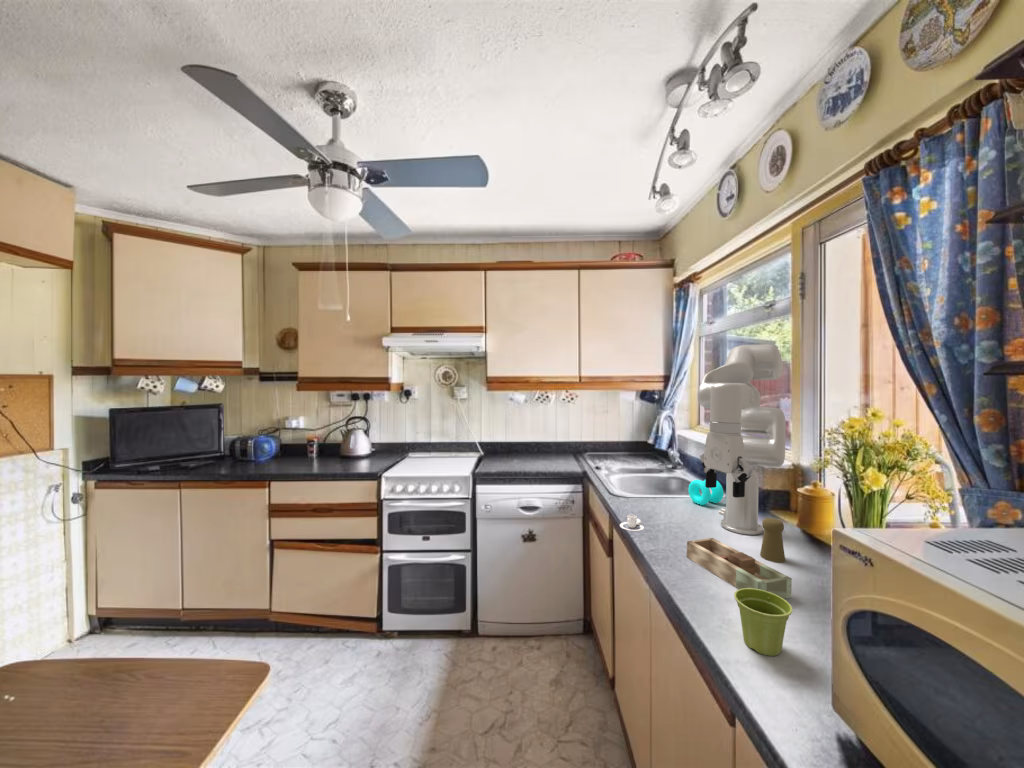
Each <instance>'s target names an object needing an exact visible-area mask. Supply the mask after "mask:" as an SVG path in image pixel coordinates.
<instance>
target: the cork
mask: <svg viewBox="0 0 1024 768" xmlns="http://www.w3.org/2000/svg"><path fill="white" fill-rule="evenodd" d="M761 524H762V525H761V526H762V527H763V536H762V543H761V547H760V553H759V555H760V557H761V558H762V559H764V560H766V561H768V562H772V563H778V564H779V563H785V562H786V557H785V556H786V555H785V548H784V542H783V534H782V533H783V532H784V531H785V526H784V523H783V521H781V520H779V519H778V518H772V517H766V518H764V519H763V520H762V523H761Z"/></svg>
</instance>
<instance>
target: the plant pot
mask: <svg viewBox="0 0 1024 768" xmlns="http://www.w3.org/2000/svg"><path fill="white" fill-rule="evenodd" d="M733 597H734V600H735V602H736V603H737V604H736V605H737V607H738V609H739V615H740V622H741V630H742V631H741V632H742V638H743V641H744V643H745V645H746V646H747V647H748V649H753V650H755V651H756V652H758V654H761V655H765V656H771V657H774V656H778V655H779V654H780V653H781V652H782V648H783V644H784V638H785V631H786V627H787V621H788V620H789V618H790V616H791V615H792V614H793V606H792V605H791V603H789V601H787V599H783V598H781V597H780V596H778V595H775V594H773V593H770V592H767V591H764V590H760V589H753V588H743V589H737V590H735V591H734V594H733Z"/></svg>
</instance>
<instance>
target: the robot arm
mask: <svg viewBox="0 0 1024 768" xmlns="http://www.w3.org/2000/svg"><path fill="white" fill-rule="evenodd" d="M783 362H784V361H783V358H782V355H781V352H780V350H779V348H778V347H777V346H775V345H774V344H770V343H765V344H763V343H762V344H761V343H760V344H742V345H737V346H735V347H732V349H731V350H730V351H729V353H728V355H727V357H726V360H725V363H724V364H723V365H722V366H719V367H717V368H715V369H713V370H711V371H709V372H707V373H706V374H705V375H704V376H703V377H702V378H701V379H702V380H701V382H700V383H699V385H698V386H699V387H698V390H697V395H696V396H697V401H698V404H699V405H700V406H701V407H703V408H706V409H709V431H708V432H707V434H706V439H705V444H704V453H703V454H701V455H699V458H700V462H701V465H702V468H703V473H704V474H705V479H706V480H705V479H704V480H705V487H707V488H709V489H711V488H714V487H716V482H717V481H718V480H717V473H716V471H717V472H720V473H725V474H726V476H725V477H726V478H725V479H726V480H725V481H726V482H725V483H726V487H725V489H726V490H725V500H726V501H725V507H722V508H721V509H720V510H718V514H719V515H721V516H723V518H722V519H721V520H720V526H721V527H722V528H724V529H726V530H727V531H730V532H733V533H736V534H741V535H750V536H751V535H752V536H754V535H755V536H756V535H760V534H764V528H763V525H761V524H759V481H760V480H759V477H758V475H757V473H756V472H755V471H754V467H753V466H756V467H757V466H759V467H766V468H767V467H768V468H775V469H776V468H780V467H782V466H783V464H784V463H785V460H786V431H787V430H786V429H787V428H786V427H787V423H786V422H787V421H786V415H785V413H784V411H783V410H782V409H780V408H777V407H771V406H770V407H769V406H761V398H762V397H761V393H760V392H759V389H757V388H756V386H754V385H753V384H752V383H751V381H775V380H776V381H777V380H778V379H779V380H780V378H781V377H782V375H783V372H784V363H783ZM742 434H749V435H742ZM751 435H761V436H767V437H761V436H751Z"/></svg>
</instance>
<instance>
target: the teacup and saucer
mask: <svg viewBox="0 0 1024 768" xmlns="http://www.w3.org/2000/svg"><path fill="white" fill-rule="evenodd" d="M626 524H627V526H628V528H627V527H625V526H624V525H626ZM636 526H639V527H640V528H639V529H634V528H636ZM619 527H620V528H621V529H624V530H626V531H630V532H641V531H642V530H644V529H645V526H644V525H642V520H641V519H639V518H638V516H637V515H635V514H627V517H626V521H625V522H621V523H620V524H619ZM629 528H630V529H629ZM631 528H632V529H631Z"/></svg>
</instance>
